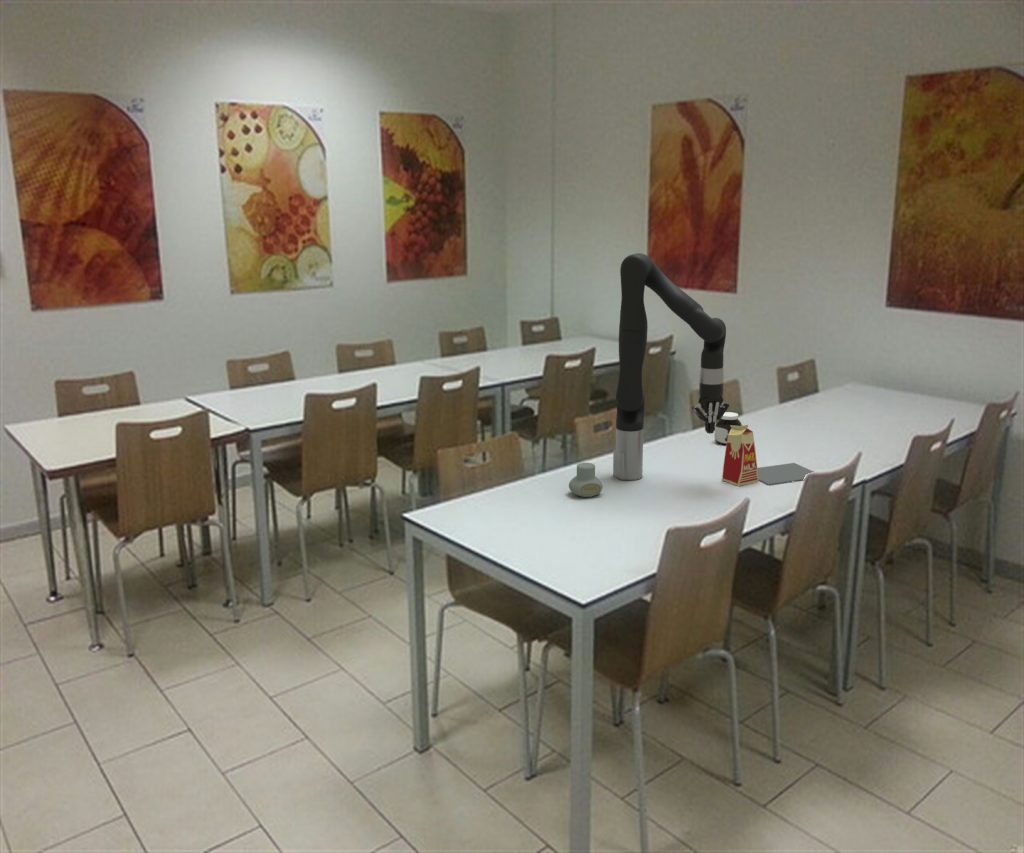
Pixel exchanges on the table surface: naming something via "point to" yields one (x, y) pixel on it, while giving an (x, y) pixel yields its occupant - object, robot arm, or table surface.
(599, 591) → the table surface
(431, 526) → the table surface
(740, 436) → the milk carton
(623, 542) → the table surface
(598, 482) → the air freshener
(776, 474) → the mat
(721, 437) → the spread jar
